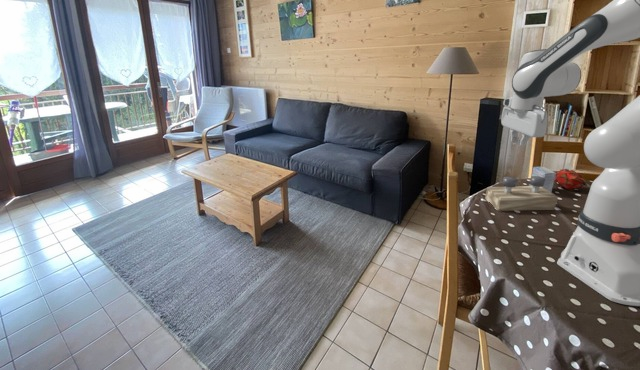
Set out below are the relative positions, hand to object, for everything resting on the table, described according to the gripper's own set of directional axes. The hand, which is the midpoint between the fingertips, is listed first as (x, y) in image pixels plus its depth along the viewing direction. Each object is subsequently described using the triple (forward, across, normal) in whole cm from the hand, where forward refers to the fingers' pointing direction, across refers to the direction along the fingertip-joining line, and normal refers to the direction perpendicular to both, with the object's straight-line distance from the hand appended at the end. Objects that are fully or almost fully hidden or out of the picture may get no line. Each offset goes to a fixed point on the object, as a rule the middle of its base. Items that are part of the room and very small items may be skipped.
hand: (517, 144), depth 110 cm
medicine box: (+23, +13, -21) cm, 34 cm away
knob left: (+20, 0, 0) cm, 20 cm away
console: (+23, 0, -5) cm, 24 cm away
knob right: (+20, 0, -10) cm, 22 cm away
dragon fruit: (+23, +14, -33) cm, 43 cm away
